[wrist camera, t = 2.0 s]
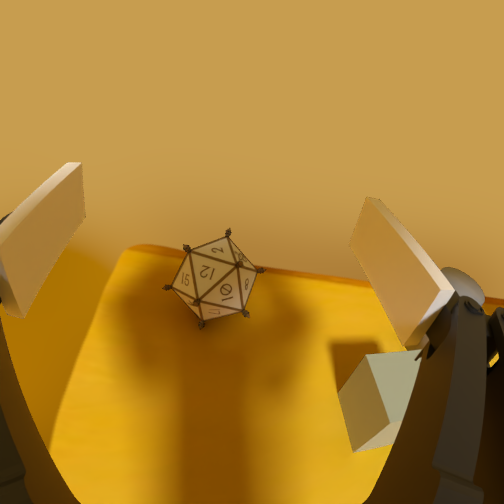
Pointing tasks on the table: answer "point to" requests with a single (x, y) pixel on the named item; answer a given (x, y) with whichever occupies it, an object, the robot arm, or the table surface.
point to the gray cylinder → (463, 288)
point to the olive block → (378, 398)
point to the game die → (215, 279)
